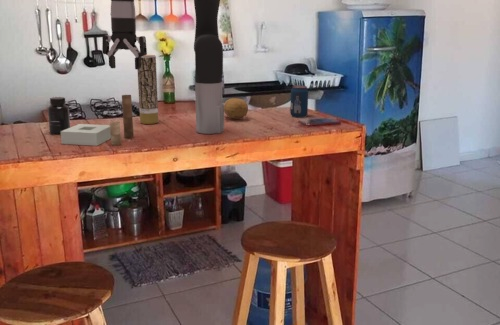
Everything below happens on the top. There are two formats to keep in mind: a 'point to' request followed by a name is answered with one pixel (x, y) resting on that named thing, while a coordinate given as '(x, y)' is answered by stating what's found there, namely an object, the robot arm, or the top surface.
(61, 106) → the supplement bottle
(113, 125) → the short pin
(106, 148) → the top surface
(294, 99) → the soda can
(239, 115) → the potato
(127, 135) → the long pin
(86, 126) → the hole block
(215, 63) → the robot arm
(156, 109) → the paper tube
